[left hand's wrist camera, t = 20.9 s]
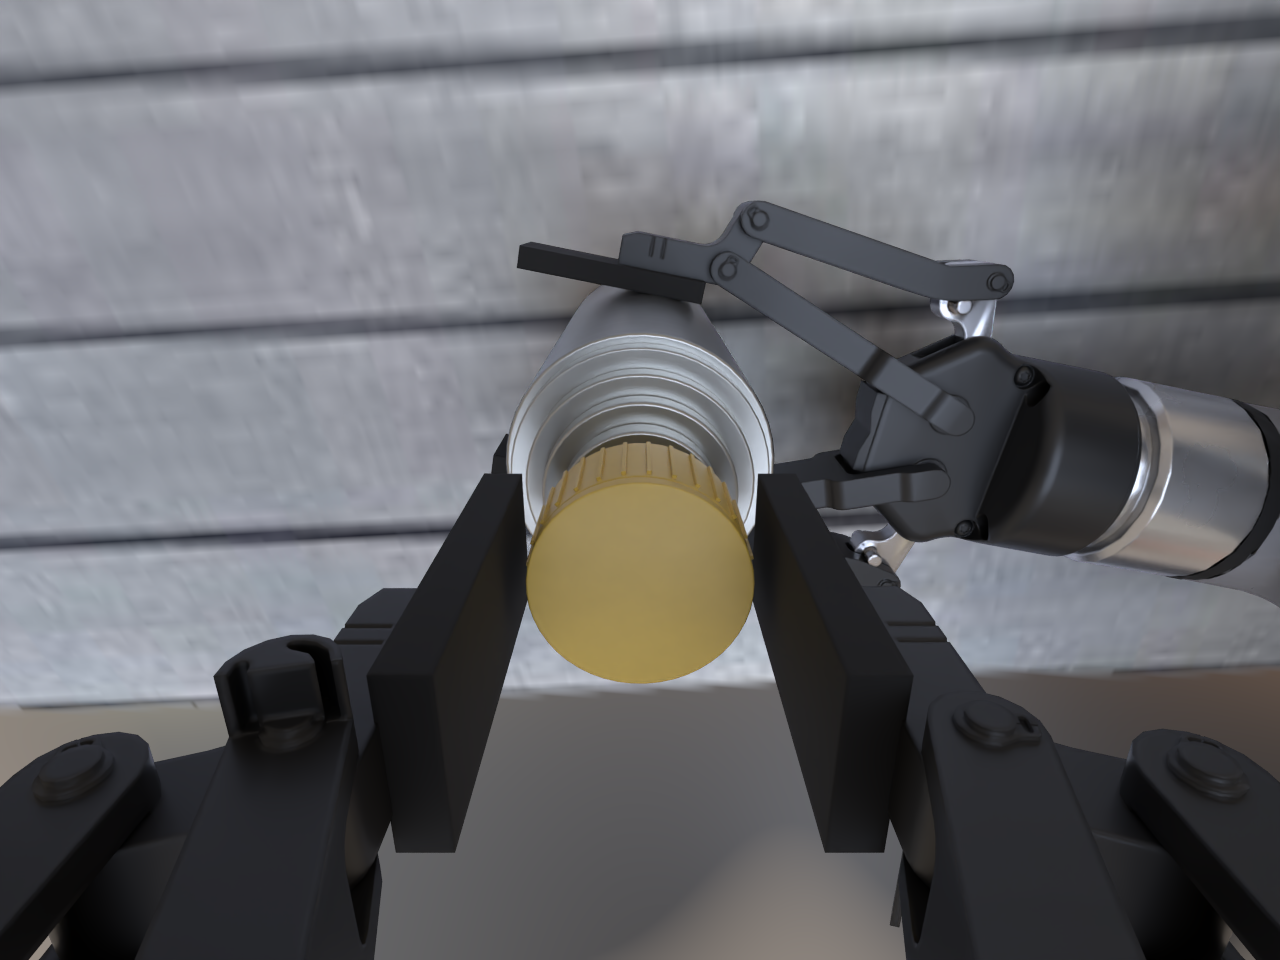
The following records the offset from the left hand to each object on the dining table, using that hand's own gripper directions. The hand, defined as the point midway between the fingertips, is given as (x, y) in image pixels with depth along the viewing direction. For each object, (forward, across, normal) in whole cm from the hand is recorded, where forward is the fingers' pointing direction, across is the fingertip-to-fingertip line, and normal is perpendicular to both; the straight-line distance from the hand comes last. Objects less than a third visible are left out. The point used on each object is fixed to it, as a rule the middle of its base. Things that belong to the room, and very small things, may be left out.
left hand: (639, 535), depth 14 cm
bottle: (+20, 0, 0) cm, 20 cm away
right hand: (+14, -5, +1) cm, 14 cm away
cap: (-2, 0, 0) cm, 2 cm away
